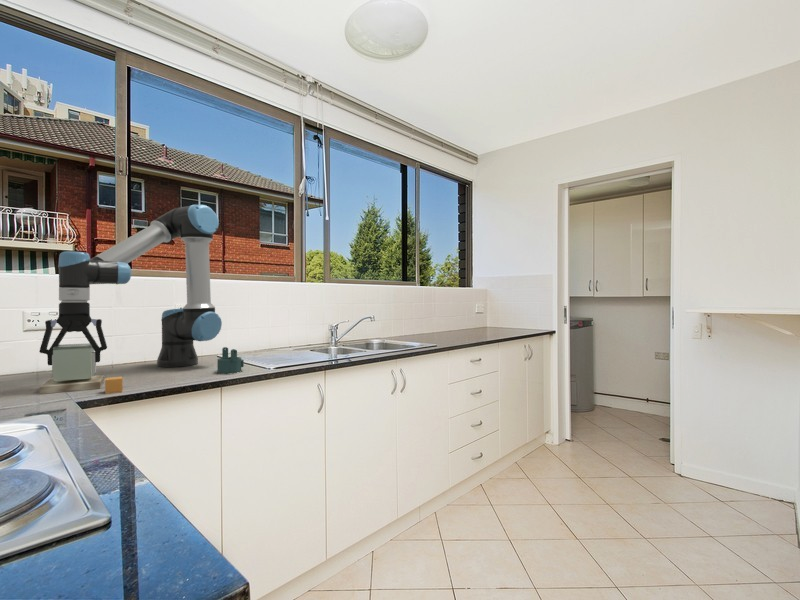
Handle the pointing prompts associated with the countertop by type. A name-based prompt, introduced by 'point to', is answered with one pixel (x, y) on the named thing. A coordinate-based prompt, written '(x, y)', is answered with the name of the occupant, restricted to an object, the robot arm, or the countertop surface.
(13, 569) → the countertop surface
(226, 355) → the bracket
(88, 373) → the sage green cube
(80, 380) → the birch board
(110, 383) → the block
